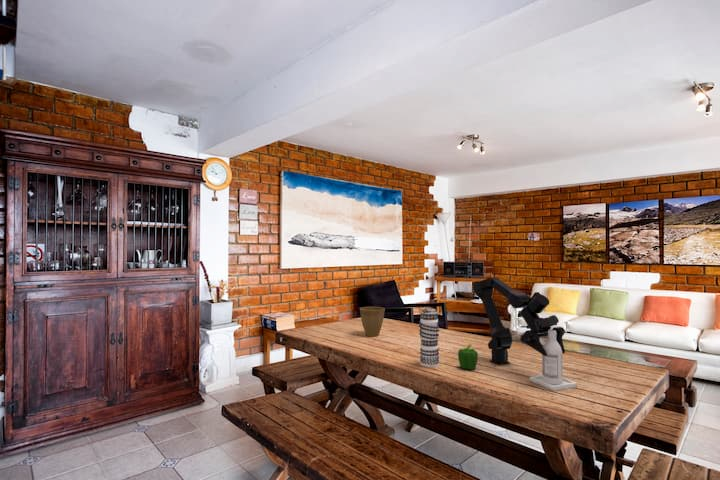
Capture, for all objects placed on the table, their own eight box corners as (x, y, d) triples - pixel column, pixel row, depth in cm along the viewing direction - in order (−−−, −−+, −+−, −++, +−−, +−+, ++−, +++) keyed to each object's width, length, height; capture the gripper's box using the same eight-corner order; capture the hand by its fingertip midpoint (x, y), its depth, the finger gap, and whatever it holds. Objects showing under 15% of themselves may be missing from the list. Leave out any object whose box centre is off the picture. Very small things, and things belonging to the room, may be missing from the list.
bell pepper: (468, 372, 169) (468, 348, 169) (454, 367, 176) (454, 344, 176) (482, 368, 173) (482, 345, 173) (468, 364, 180) (467, 341, 180)
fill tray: (553, 391, 147) (552, 386, 147) (529, 380, 158) (529, 376, 158) (577, 387, 151) (577, 382, 151) (552, 377, 162) (552, 373, 162)
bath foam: (551, 378, 159) (551, 327, 159) (566, 383, 153) (566, 331, 153) (538, 380, 156) (538, 329, 156) (553, 386, 150) (553, 333, 150)
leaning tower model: (427, 359, 187) (426, 306, 187) (444, 363, 180) (443, 308, 181) (415, 364, 181) (414, 308, 181) (432, 368, 174) (431, 311, 174)
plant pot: (385, 338, 229) (385, 310, 229) (359, 338, 229) (359, 310, 230) (384, 332, 244) (384, 306, 244) (360, 332, 244) (359, 306, 244)
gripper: (525, 310, 155) (548, 345, 145) (561, 306, 162) (586, 340, 151) (511, 326, 162) (532, 361, 152) (546, 322, 169) (568, 355, 159)
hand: (555, 354), depth 153 cm, fingers open, 9 cm apart
